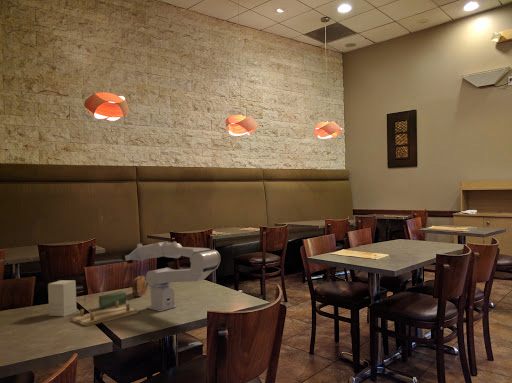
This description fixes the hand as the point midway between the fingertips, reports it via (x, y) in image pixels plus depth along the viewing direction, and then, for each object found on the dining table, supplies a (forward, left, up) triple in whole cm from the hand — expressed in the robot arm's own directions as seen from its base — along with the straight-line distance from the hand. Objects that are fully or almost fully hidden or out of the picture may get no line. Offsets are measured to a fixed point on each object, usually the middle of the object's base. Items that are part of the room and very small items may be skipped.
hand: (129, 255), depth 173 cm
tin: (+8, -9, -21) cm, 24 cm away
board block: (0, +9, -20) cm, 22 cm away
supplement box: (+6, +27, -21) cm, 34 cm away
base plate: (-13, +19, -20) cm, 30 cm away
